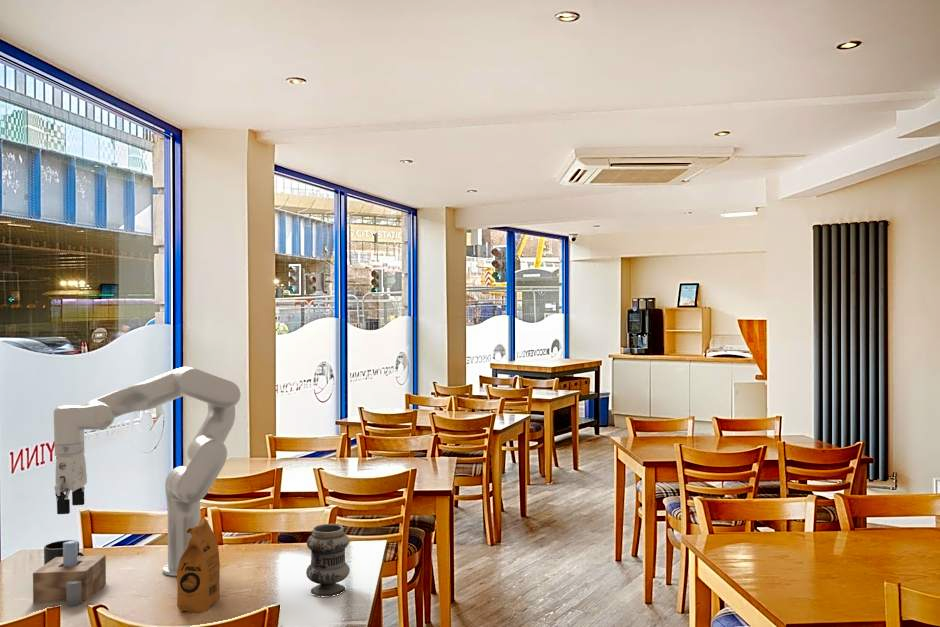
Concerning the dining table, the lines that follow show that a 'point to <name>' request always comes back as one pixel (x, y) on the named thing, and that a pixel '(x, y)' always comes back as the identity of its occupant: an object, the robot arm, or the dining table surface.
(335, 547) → the apothecary jar
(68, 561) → the tall pin
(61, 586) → the hole block
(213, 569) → the coffee package
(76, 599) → the short pin
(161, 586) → the dining table surface
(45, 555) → the mug
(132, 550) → the dining table surface
